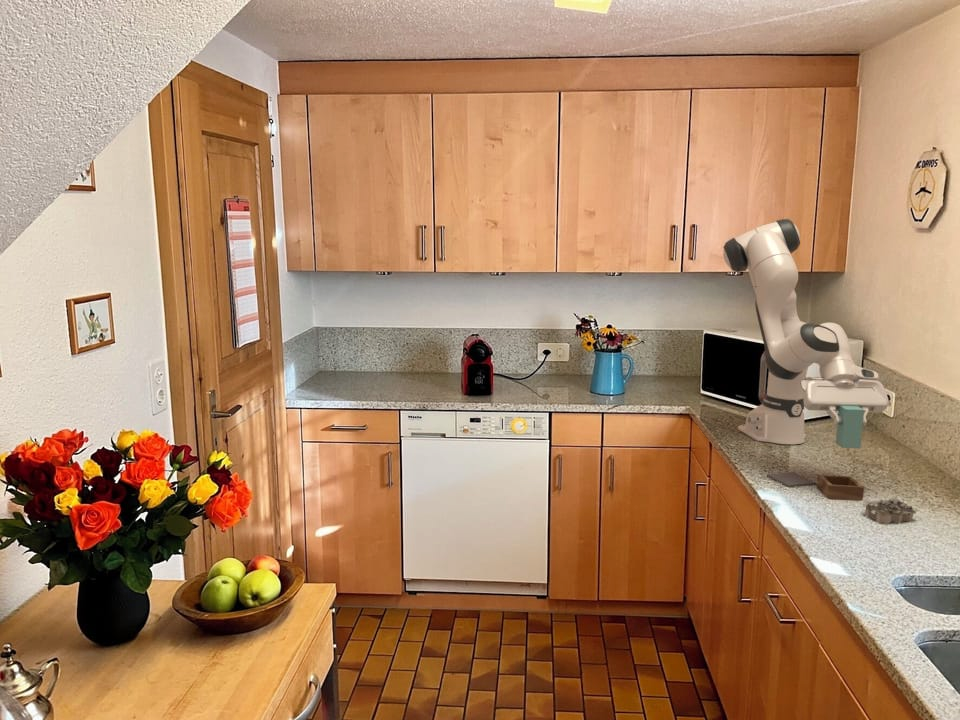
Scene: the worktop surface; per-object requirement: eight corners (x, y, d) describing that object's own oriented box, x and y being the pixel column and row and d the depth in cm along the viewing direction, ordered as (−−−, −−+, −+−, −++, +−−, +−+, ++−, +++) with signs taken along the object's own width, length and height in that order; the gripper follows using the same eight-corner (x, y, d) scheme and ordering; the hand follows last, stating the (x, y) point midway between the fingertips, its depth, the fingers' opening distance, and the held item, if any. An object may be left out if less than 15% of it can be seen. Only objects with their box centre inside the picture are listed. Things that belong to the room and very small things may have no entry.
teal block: (835, 442, 198) (839, 405, 196) (853, 443, 197) (857, 405, 195) (842, 447, 193) (846, 409, 191) (860, 448, 193) (864, 409, 191)
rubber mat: (766, 476, 210) (766, 474, 210) (793, 473, 213) (793, 471, 213) (788, 487, 202) (789, 485, 202) (816, 484, 205) (816, 482, 204)
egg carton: (881, 526, 178) (883, 509, 177) (858, 514, 185) (859, 498, 184) (919, 522, 180) (921, 506, 180) (894, 510, 188) (896, 494, 187)
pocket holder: (816, 487, 202) (818, 474, 202) (849, 489, 201) (851, 476, 201) (828, 498, 194) (829, 485, 193) (862, 500, 193) (864, 487, 193)
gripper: (802, 370, 200) (812, 416, 192) (884, 372, 198) (897, 418, 190) (795, 383, 205) (804, 428, 197) (874, 385, 203) (887, 431, 195)
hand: (850, 424), depth 194 cm, fingers closed on teal block, 4 cm apart
